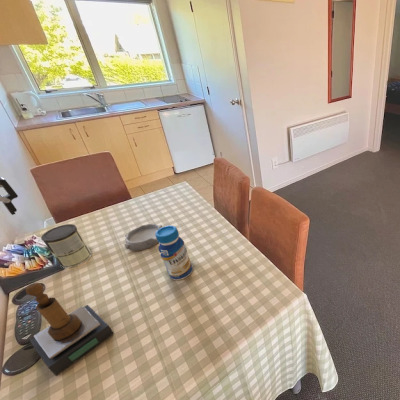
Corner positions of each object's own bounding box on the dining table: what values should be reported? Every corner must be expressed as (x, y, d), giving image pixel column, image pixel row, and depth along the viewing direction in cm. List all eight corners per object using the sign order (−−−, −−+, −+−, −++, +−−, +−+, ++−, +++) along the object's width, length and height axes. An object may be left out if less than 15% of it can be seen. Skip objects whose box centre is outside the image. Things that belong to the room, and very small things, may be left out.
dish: (165, 229, 126) (162, 220, 123) (160, 247, 114) (156, 238, 112) (131, 235, 122) (127, 227, 119) (122, 255, 110) (117, 246, 108)
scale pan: (50, 359, 69) (49, 357, 69) (34, 337, 74) (33, 335, 74) (100, 324, 78) (99, 323, 77) (83, 307, 83) (82, 305, 82)
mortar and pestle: (57, 323, 77) (21, 279, 68) (84, 315, 79) (53, 272, 70) (47, 343, 72) (7, 299, 63) (77, 334, 74) (42, 290, 65)
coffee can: (53, 267, 105) (33, 239, 98) (77, 250, 114) (60, 223, 107) (75, 269, 104) (57, 241, 96) (98, 252, 112) (82, 224, 105)
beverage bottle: (185, 261, 107) (171, 221, 97) (198, 270, 102) (184, 228, 92) (165, 274, 101) (147, 232, 91) (177, 284, 96) (159, 241, 86)
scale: (56, 377, 70) (47, 367, 67) (37, 348, 77) (27, 338, 74) (114, 334, 80) (108, 324, 78) (93, 312, 87) (86, 302, 84)
